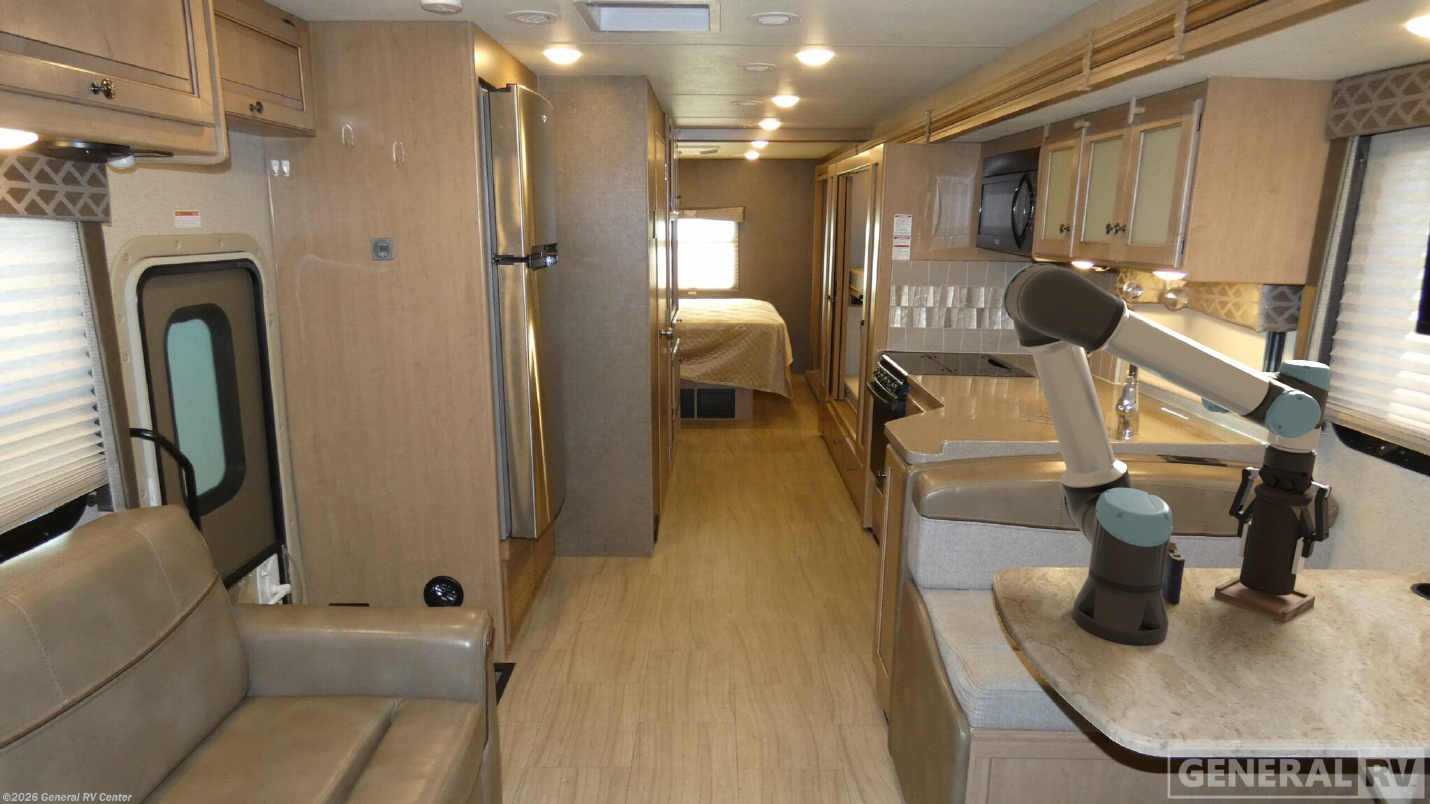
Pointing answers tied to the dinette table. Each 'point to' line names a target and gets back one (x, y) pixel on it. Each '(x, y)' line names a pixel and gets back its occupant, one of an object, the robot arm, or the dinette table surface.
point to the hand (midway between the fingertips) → (1269, 563)
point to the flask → (1173, 575)
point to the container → (1273, 540)
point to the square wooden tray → (1265, 600)
